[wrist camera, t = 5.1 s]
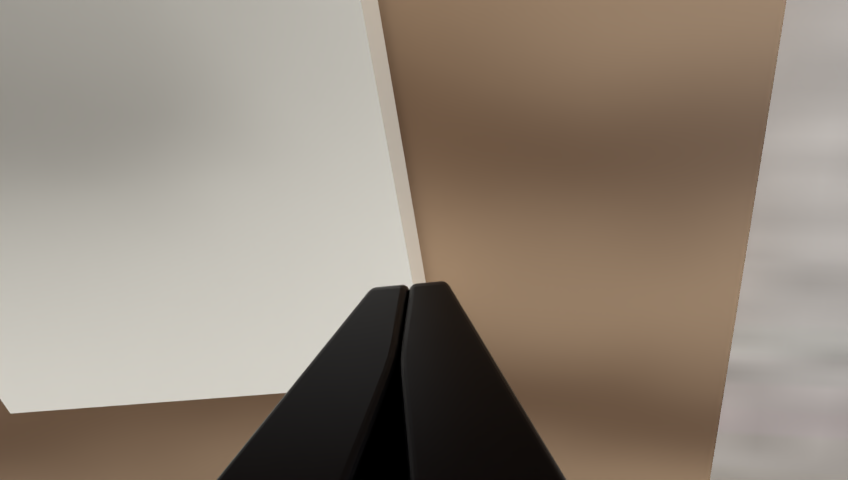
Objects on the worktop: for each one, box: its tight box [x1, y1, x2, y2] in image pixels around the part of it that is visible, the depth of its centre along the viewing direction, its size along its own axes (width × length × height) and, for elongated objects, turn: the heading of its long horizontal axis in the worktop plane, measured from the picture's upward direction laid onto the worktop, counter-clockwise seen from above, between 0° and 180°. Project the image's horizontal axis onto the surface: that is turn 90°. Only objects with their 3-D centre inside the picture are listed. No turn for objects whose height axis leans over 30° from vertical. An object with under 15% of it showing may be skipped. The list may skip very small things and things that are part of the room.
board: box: [0, 0, 786, 480], centre depth 12 cm, size 20×18×2 cm
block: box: [0, 0, 426, 414], centre depth 11 cm, size 8×2×8 cm
